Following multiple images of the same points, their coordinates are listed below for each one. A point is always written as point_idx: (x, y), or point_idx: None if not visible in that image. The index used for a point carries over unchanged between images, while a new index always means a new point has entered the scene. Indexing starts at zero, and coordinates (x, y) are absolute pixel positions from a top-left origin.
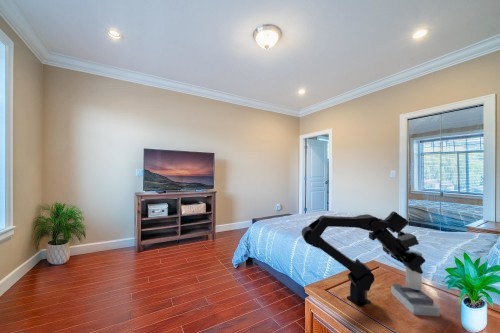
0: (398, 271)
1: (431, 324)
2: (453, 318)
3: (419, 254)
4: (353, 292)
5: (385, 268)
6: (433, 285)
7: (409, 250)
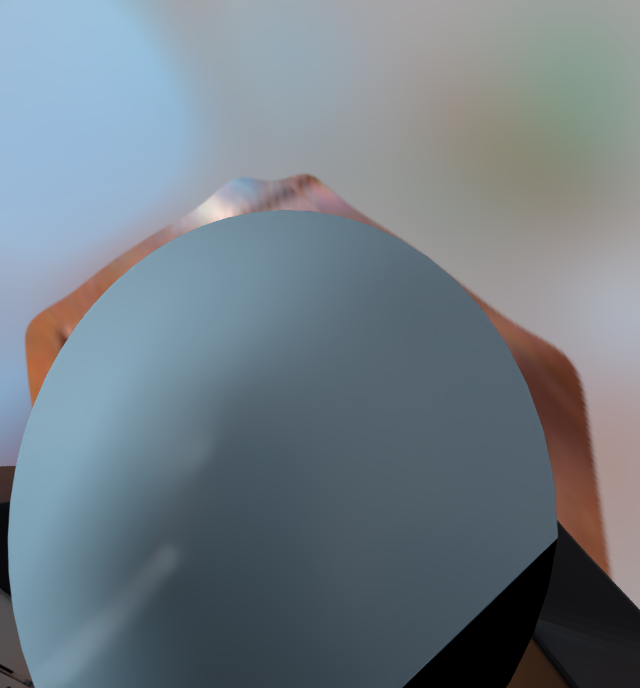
0: (119, 273)
1: (562, 489)
2: (494, 323)
3: (462, 388)
4: None
5: (84, 314)
6: (241, 207)
7: (56, 440)
